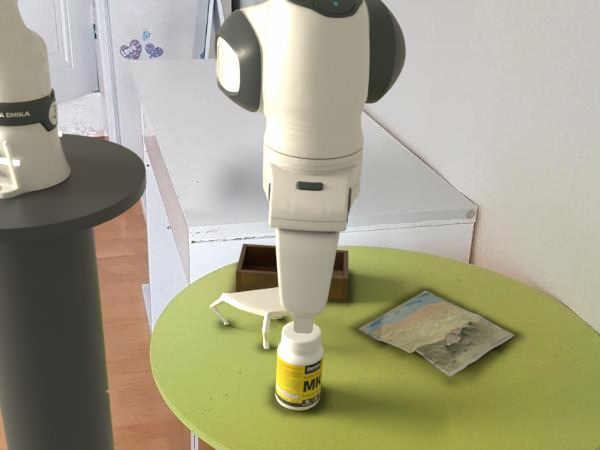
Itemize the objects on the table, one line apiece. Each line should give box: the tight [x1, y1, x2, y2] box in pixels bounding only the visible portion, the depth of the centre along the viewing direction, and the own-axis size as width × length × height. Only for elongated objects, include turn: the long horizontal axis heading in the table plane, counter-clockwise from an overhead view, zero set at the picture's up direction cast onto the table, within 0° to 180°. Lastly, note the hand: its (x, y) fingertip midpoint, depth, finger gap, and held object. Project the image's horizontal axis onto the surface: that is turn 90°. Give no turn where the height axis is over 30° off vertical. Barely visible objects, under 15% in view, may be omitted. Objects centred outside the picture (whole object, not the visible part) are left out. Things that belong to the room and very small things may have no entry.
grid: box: [235, 243, 349, 303], centre depth 98 cm, size 14×7×4 cm, turn 87°
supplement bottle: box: [275, 320, 324, 411], centre depth 77 cm, size 5×5×8 cm
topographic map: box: [358, 290, 515, 378], centre depth 90 cm, size 14×14×2 cm
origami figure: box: [209, 287, 294, 350], centre depth 88 cm, size 12×8×5 cm
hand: (305, 301), depth 74 cm, fingers open, 8 cm apart
